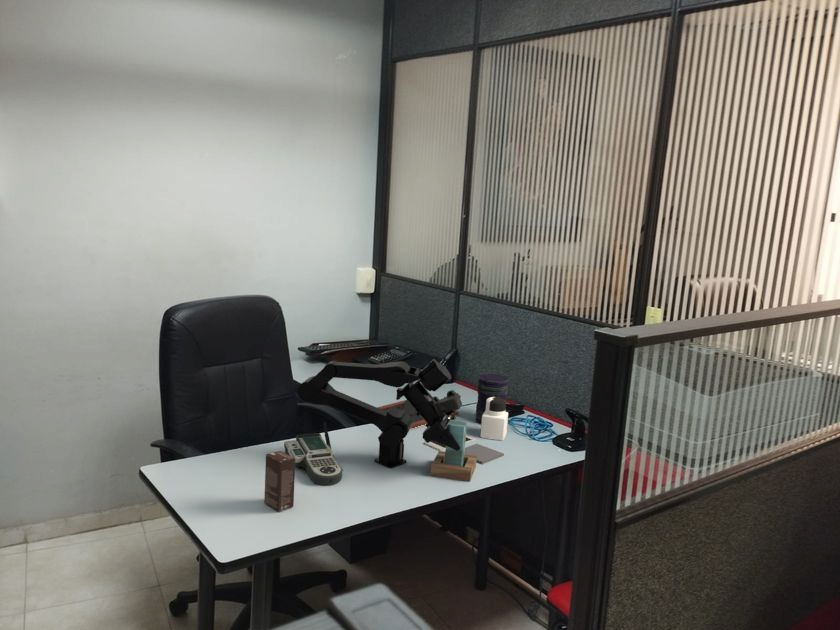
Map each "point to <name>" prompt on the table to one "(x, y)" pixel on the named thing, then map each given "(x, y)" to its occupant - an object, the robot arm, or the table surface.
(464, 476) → the pocket block
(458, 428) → the peg
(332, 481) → the communication device
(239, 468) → the table surface
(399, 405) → the picture frame
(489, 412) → the medicine bottle
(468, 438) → the smartphone
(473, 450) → the mat
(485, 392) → the storage jar
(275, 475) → the box
